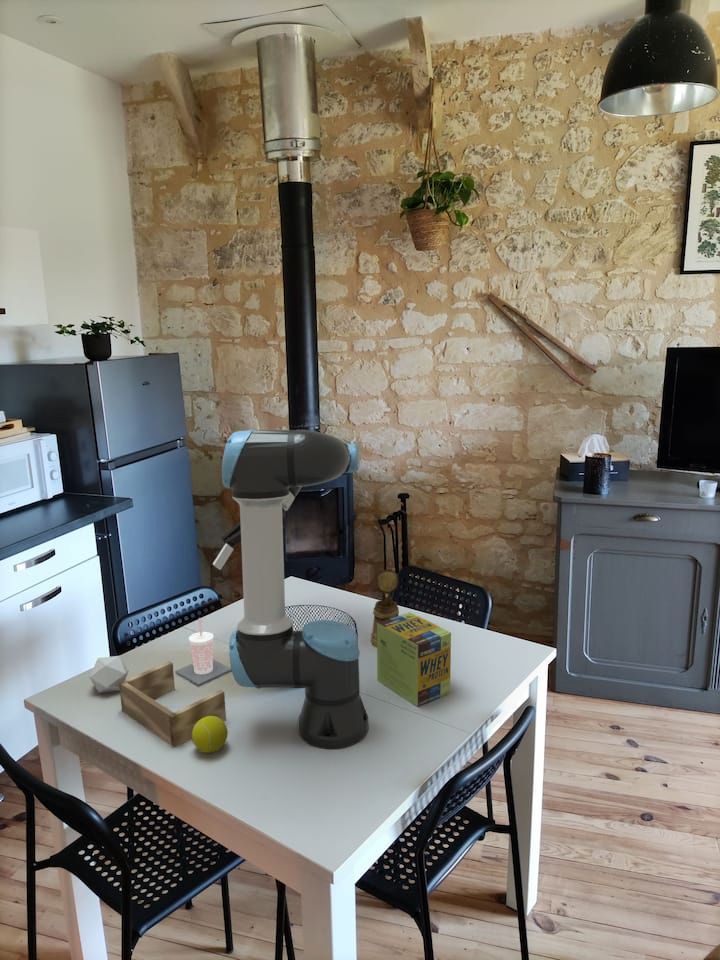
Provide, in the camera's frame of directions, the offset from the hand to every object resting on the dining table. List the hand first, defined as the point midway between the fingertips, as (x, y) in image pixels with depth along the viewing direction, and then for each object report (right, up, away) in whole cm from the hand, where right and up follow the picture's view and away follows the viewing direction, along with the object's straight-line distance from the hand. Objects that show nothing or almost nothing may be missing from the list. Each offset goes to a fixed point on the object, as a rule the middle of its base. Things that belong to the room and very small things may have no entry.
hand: (232, 572), depth 178 cm
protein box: (+46, -26, -12) cm, 54 cm away
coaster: (-7, -25, -3) cm, 26 cm away
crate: (-9, -29, -22) cm, 38 cm away
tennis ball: (+2, -32, -34) cm, 47 cm away
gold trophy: (+40, -20, +14) cm, 47 cm away
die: (-28, -27, -10) cm, 40 cm away
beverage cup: (-7, -24, -3) cm, 25 cm away
